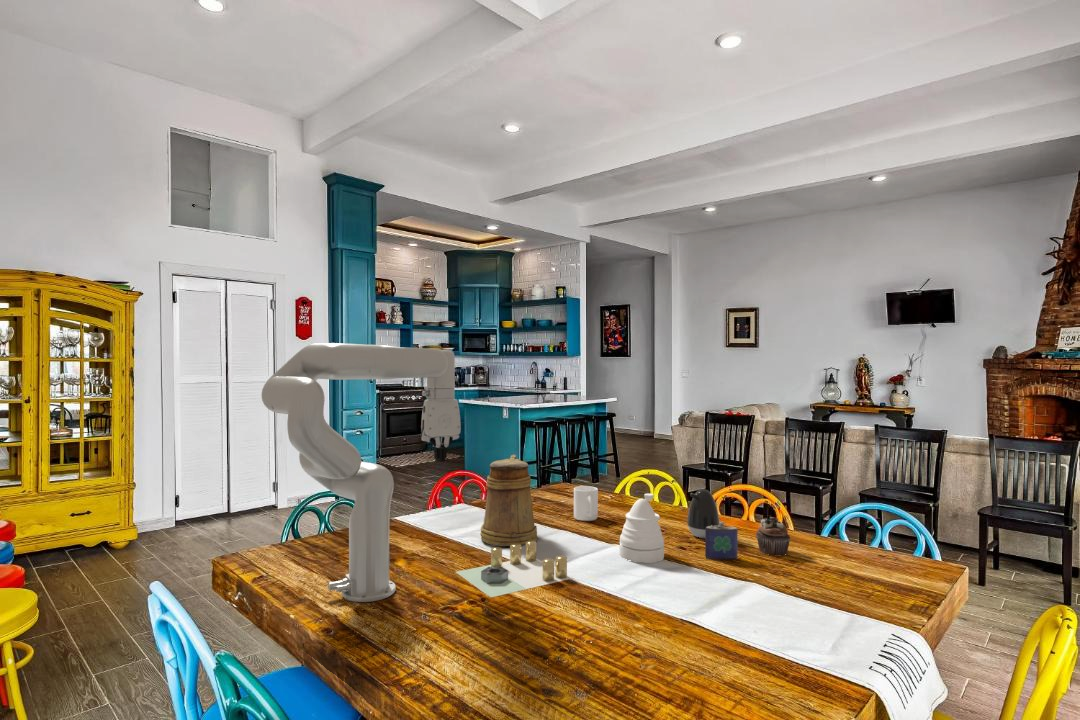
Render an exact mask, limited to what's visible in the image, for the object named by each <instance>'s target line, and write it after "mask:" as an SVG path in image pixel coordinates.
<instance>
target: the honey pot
mask: <svg viewBox="0 0 1080 720" xmlns="http://www.w3.org/2000/svg"><path fill="white" fill-rule="evenodd" d="M643 495H644V498H639V499H637V500H636V501H635V502H634V504H633V505H632V506H631V508H630V510H629V511H628V512H627V513H625V516H624V517H625V523H624V524H623V526H622V527H623V528H622V531H621V534H620V536H619V557H620V556H621V557H620V558H622V559H623V558H625V559H627V560H626V561H628V560H631V561H636V562H635V563H637V562H654V563H658V562H657V561H659V562H661V561H662V560H664V558H665V537H664V536H663V531H662V530H661V526H660V524H659V520H660V519H661V517H660V514H658V513H656V512H655V510H654V509H653V507H652V506H651V504H650V503H649V502H651V501H652V500H653V498H654V494H653V493H644V494H643ZM625 559H624V560H625ZM631 561H630V562H631Z"/></svg>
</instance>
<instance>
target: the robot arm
mask: <svg viewBox="0 0 1080 720" xmlns="http://www.w3.org/2000/svg"><path fill="white" fill-rule="evenodd" d="M455 356H456V355H455V353H454V351H453V350H449V349H439V348H427V347H426V348H425V347H424V348H421V347H419V348H418V347H403V346H402V347H400V346H393V345H381V344H361V343H359V344H358V343H342V342H341V343H340V342H339V343H337V342H336V343H335V342H331V343H330V342H328V343H327V342H325V343H324V342H322V343H318V342H317V343H311V344H308V345H306V346H304V347H303V348H301V349H300V350H299V351H298V352H296V353H295V354H294V355H293V356H292V357H291V358H289V359H288V361H287V362H286V363H284V364H283V365H282V366H281V367H280V368H279V369H278V370H277V371H276V372H275V373H273V374H272V375H271V376H270V377H269V379H267V381H266V382H265V383H264V385H263V387H262V389H261V401H262V404H263V405H264V406H265V408H267V409H268V410H269V411H271V412H274V413H276V414H284V415H287V424H286V425H287V428H286V429H287V435H288V436H287V437H288V439H289V442H290V444H291V445H292V447H293V448H294V449H295V450H296V451H298V452H299V456H298V458H299V463H300V466H301V468H302V470H303V471H304V472H305V473H306V474H307V475H308V476H309V477H311V478H313V480H315V481H316V482H317V483H318V484H320V485H321V486H323V487H325V488H326V489H327V490H329V491H330V492H331V493H333V494H335V495H336V496H338V497H341V498H345V499H348V500H352V501H354V504H353V507H352V510H351V512H350V515H349V521H348V573H346V574H345V575H344V576H345V578H342V579H341V580H338V581H337V580H336V581H331V582H330V581H329V582H328V585H327V586H328V591H329V592H331V591H336V592H337V593H339V592H342V593H341V595H342V598H344V599H345V600H346V601H349V602H353V603H356V602H357V603H369V602H371V603H372V602H377V601H381V600H385V599H386V598H389V597H390V596H392V595H393V594H394V593H395V592H396V589H397V588H396V584H395V582H393V581H392V580H390V513H391V512H390V511H391V502H392V497H393V494H394V487H395V486H394V484H395V483H394V477H393V474H392V472H391V471H390V470H389V469H388V468H386V467H385V466H383V465H381V464H377V463H373V462H368V461H362V457H361V454H360V451H359V450H358V448H356V447H355V446H354V445H353V443H351V442H350V441H349V440H347V438H344V437H343V436H342V435H341V434H340V433H338V432H337V431H336V430H335V429H333V428H332V427H331V425H329V424H328V422H327V421H326V419H325V413H324V410H325V409H324V408H325V399H326V398H325V393H324V389H323V388H322V385H321V384H320V383H319V382H318V381H317V380H332V381H333V380H338V381H339V380H341V381H342V380H343V381H345V380H393V379H421V378H422V379H426V388H425V390H422V392H421V395H422V396H423V397H425V398H426V399H424V401H423V406H422V413H421V425H420V428H421V429H420V430H421V431H420V432H421V441H423V442H427V443H430V444H431V445H432V447H433V448H434V449H433V450H434V451H433V453H434V454H433V458H434V459H435V461H436V462H437V463H445V462H446V459H447V453H448V452H447V450H448V449H447V448H448V447H449V446H450V444H451V442H452V441H454V440H458V439H459V438H460V434H461V432H462V431H461V426H462V425H461V415H460V413H461V412H460V406H459V401H458V399H455V380H456V379H455V375H456V374H455V368H456V367H455V366H456V365H455V362H456V361H455V358H456V357H455Z"/></svg>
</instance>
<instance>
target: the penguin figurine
mask: <svg viewBox="0 0 1080 720" xmlns="http://www.w3.org/2000/svg"><path fill="white" fill-rule="evenodd" d="M689 496H690V497H692V500H691V502H690V504H689V508H688V513H687V521H686V522H687V523H686V524H687V526H688V531H690V533H691V534H692V535H693V536H694V537H697V538H698V537H699V538H698V539H705V528H706V527H708V526H711V525H712V526H714V525H715V526H714V527H716V526H718V525H720V522H721V521H720V516H719V514H720V513H719V510H718V506H717V504H716V501H715V499H714V497H713V494H712V493H711V492H710V491H709V490H708V489H705V488H704V489H698V490H697V491H696V492H695V493H693V492H691V493H689Z"/></svg>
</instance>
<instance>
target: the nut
mask: <svg viewBox="0 0 1080 720" xmlns="http://www.w3.org/2000/svg"><path fill="white" fill-rule="evenodd" d="M481 580H482V581H484V582H485V583H487V584H502V583H503V582H505V581H506V580H508V570H506V569H505V568H503V567H487V568H486V569H484V570H482V571H481Z"/></svg>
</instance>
